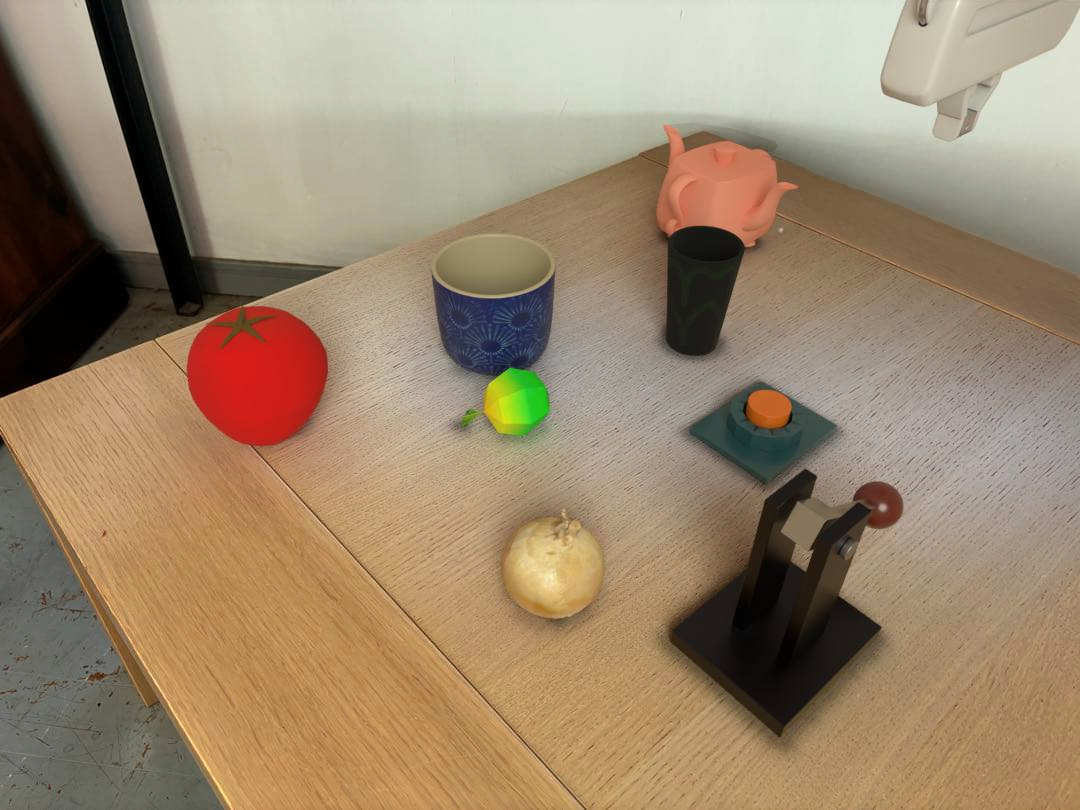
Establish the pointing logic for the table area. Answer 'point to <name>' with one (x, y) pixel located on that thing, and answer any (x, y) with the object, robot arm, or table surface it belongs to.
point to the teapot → (719, 189)
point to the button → (768, 409)
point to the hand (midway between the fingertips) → (951, 134)
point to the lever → (818, 516)
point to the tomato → (257, 374)
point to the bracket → (783, 616)
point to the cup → (700, 286)
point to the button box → (762, 436)
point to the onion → (553, 566)
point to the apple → (514, 402)
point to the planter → (494, 301)
